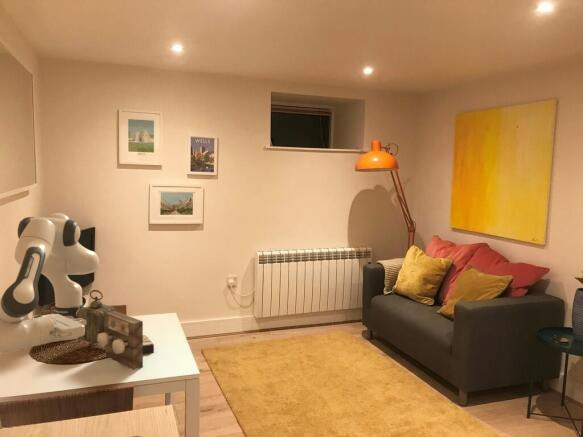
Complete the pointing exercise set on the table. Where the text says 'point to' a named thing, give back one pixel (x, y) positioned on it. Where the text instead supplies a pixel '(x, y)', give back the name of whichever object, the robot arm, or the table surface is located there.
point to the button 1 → (103, 339)
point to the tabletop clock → (94, 319)
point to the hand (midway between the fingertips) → (84, 321)
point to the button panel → (125, 339)
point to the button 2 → (119, 346)
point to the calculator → (147, 345)
